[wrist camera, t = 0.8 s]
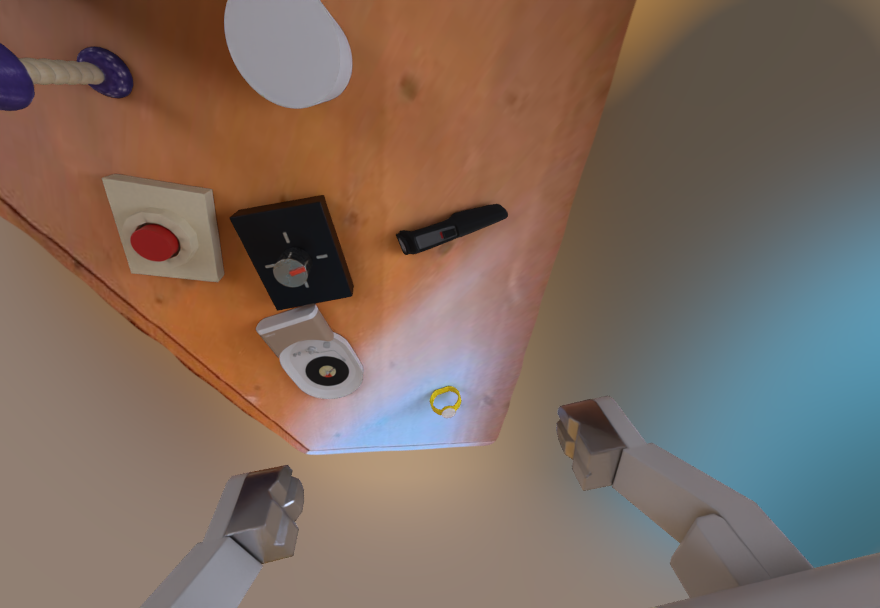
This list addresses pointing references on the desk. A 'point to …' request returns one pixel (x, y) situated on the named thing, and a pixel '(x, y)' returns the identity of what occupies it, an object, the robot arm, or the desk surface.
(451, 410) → the watch
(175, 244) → the power button
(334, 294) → the control panel
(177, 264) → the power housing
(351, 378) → the record player
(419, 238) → the electric trimmer
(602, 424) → the robot arm
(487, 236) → the desk surface
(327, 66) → the white round cylinder
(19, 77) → the toy lamp
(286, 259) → the dial
